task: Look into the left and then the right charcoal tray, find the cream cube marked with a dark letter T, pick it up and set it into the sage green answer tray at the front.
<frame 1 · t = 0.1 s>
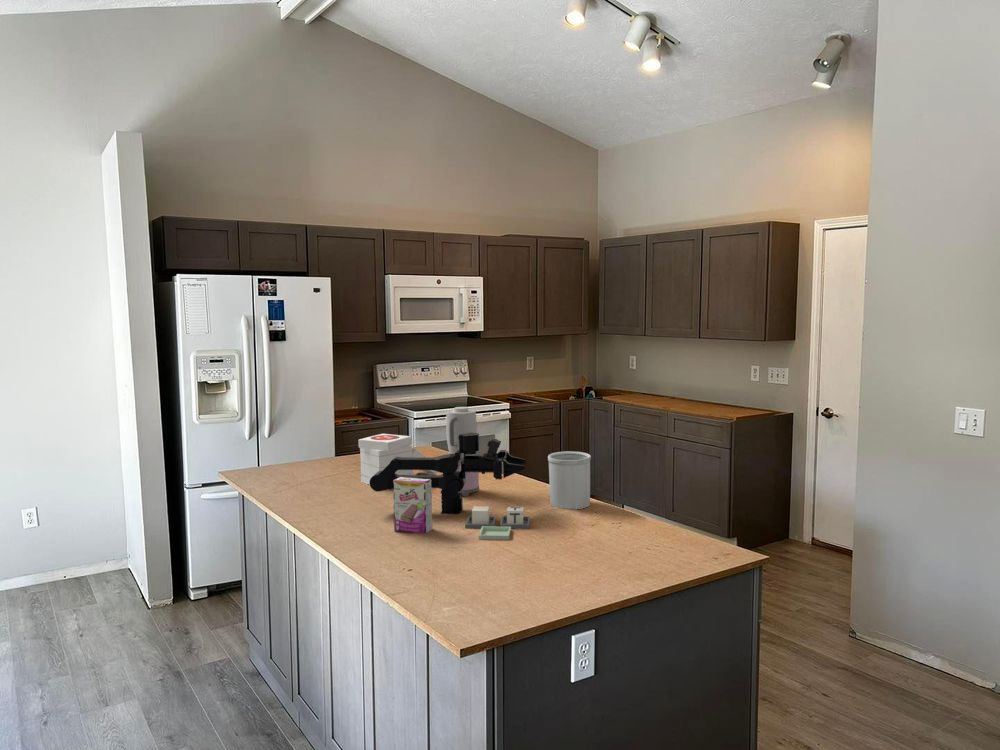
hand: (525, 464, 249), 17 cm above the table, tool horizontal, fingers open, 9 cm apart
tray left: (480, 525, 237), on the table
utensil holder: (569, 505, 259), on the table
blender: (461, 493, 278), on the table
pizza boxes: (398, 481, 300), on the table
blank cube: (480, 523, 237), resting on tray left
letter cube: (515, 524, 236), resting on tray right
answer tray: (495, 536, 226), on the table
tray right: (515, 525, 237), on the table
candy bar box: (413, 531, 233), on the table
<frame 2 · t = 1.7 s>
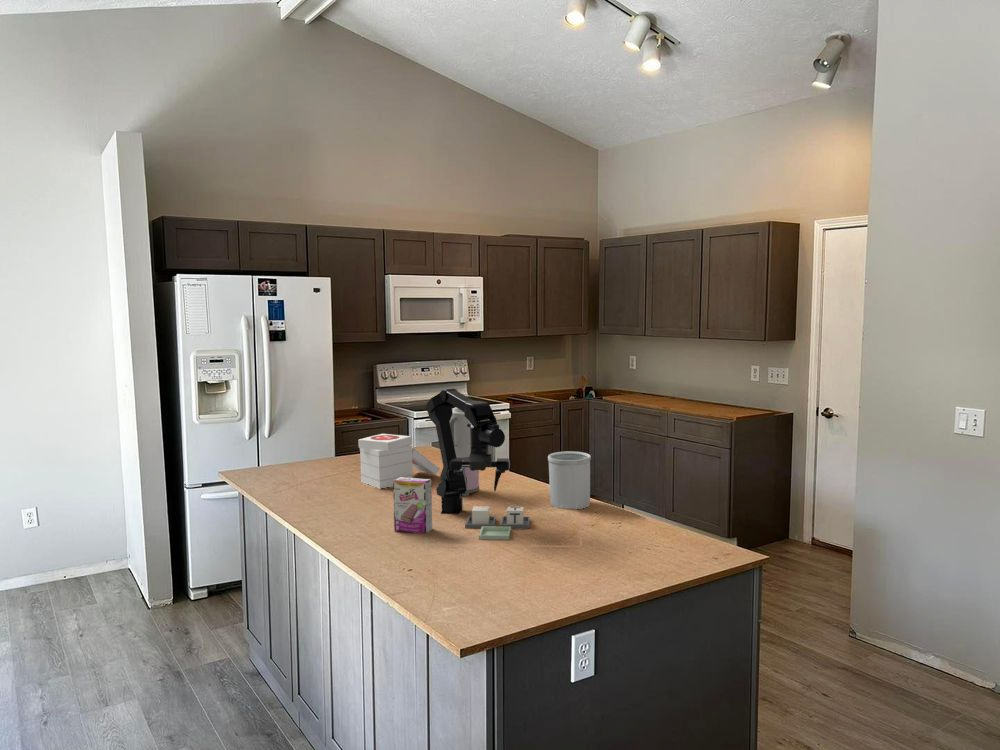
hand: (480, 491, 236), 11 cm above the table, tool pointing down, fingers open, 9 cm apart
nothing on the table moved.
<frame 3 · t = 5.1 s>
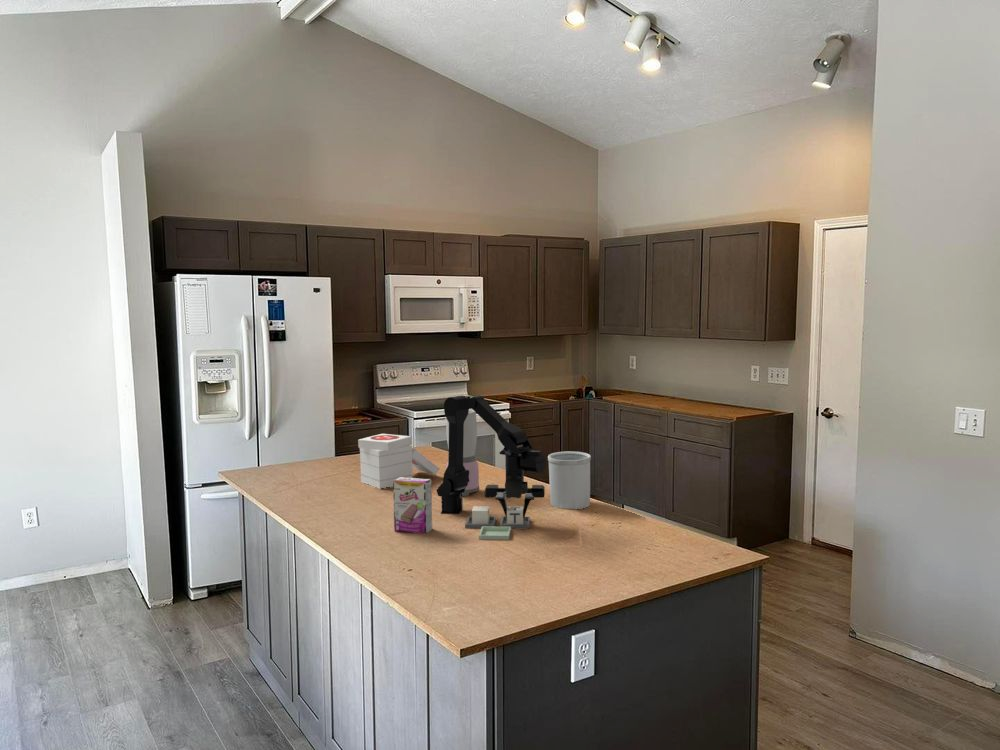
hand: (515, 517, 236), 3 cm above the table, tool pointing down, fingers closed on letter cube, 5 cm apart
letter cube: (515, 524, 236), resting on tray right, touching gripper
everything else where it was.
when the fingers open (4 cm above the table, at t = 8.8 s): letter cube drops 1 cm, resting on answer tray.
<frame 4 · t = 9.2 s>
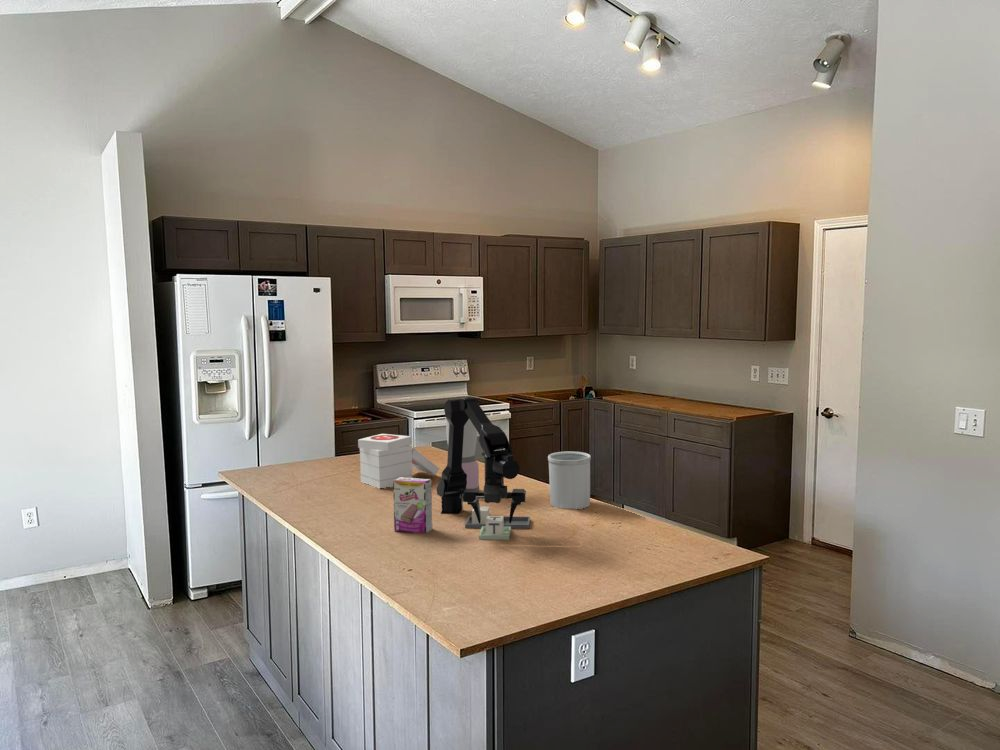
hand: (494, 523, 226), 4 cm above the table, tool pointing down, fingers open, 9 cm apart
letter cube: (494, 534, 226), resting on answer tray
everything else where it was.
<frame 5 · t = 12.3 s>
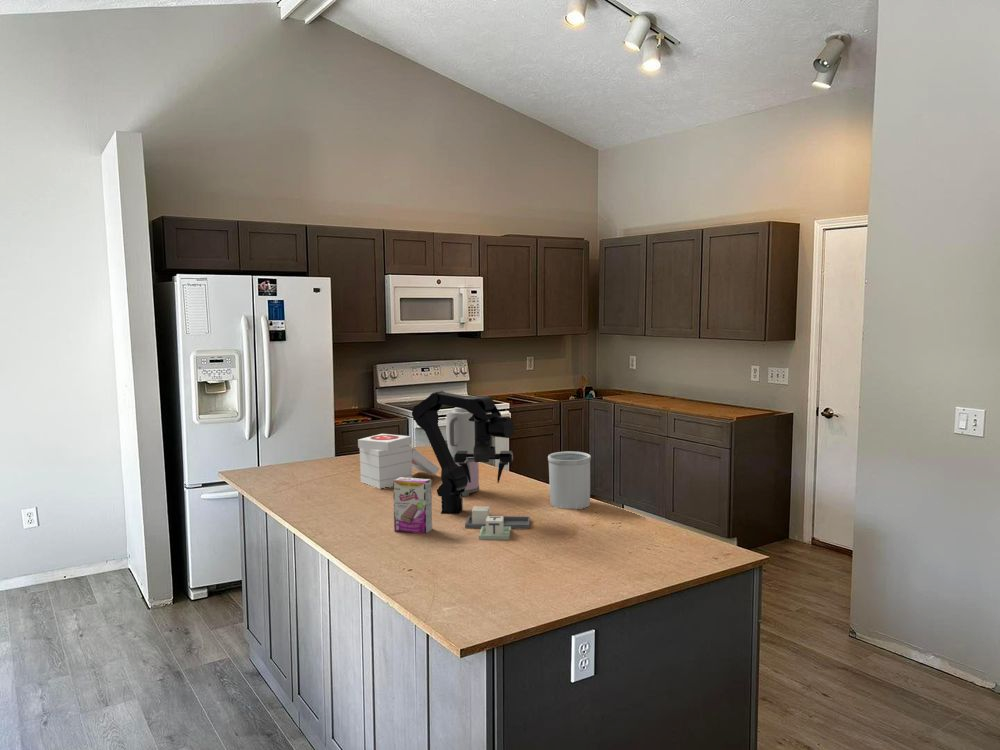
hand: (484, 482, 244), 12 cm above the table, tool pointing down, fingers open, 9 cm apart
nothing on the table moved.
at the end: letter cube 0.1 cm off-centre on the answer tray, point 0.4 cm above the answer tray's base; the gripper is holding nothing; blank cube moved 0.0 cm from its start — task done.
